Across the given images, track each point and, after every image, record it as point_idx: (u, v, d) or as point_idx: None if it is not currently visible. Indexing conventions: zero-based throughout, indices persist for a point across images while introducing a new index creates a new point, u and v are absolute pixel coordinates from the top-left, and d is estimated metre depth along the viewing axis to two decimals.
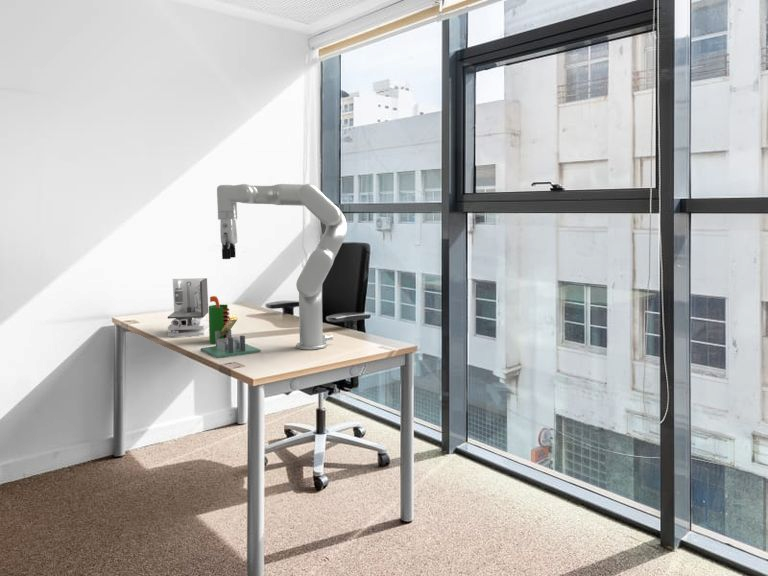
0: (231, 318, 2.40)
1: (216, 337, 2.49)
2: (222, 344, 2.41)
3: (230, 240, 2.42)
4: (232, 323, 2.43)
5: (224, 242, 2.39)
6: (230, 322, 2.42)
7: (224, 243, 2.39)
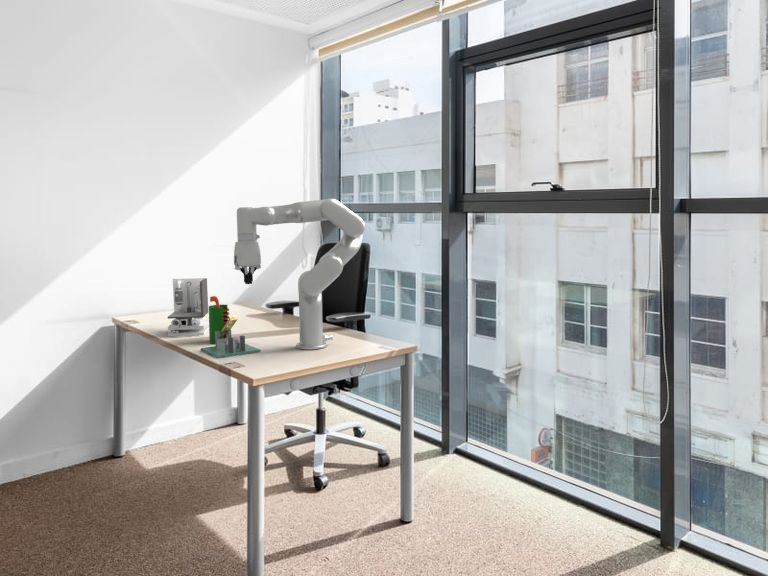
0: (231, 318, 2.40)
1: (216, 337, 2.49)
2: (222, 344, 2.41)
3: None
4: (232, 323, 2.43)
5: None
6: (230, 322, 2.42)
7: None
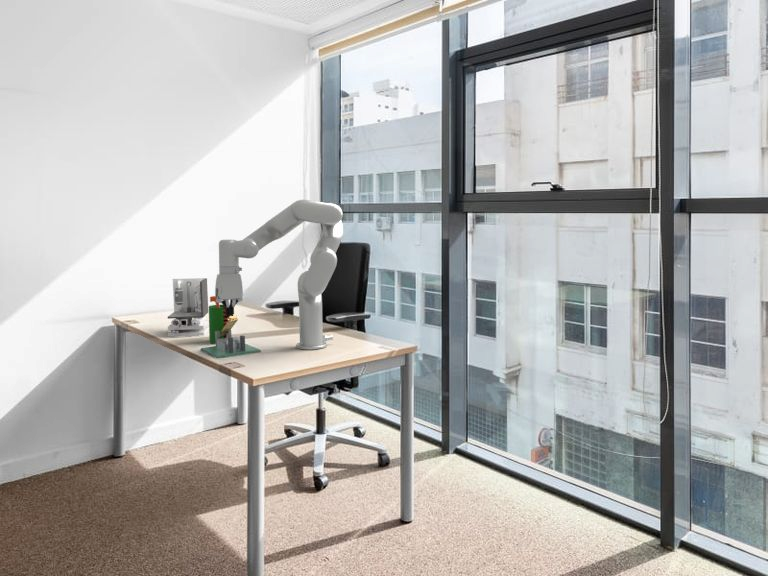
0: (231, 319, 2.40)
1: (216, 337, 2.49)
2: (222, 344, 2.41)
3: None
4: (232, 324, 2.43)
5: None
6: (230, 323, 2.42)
7: None
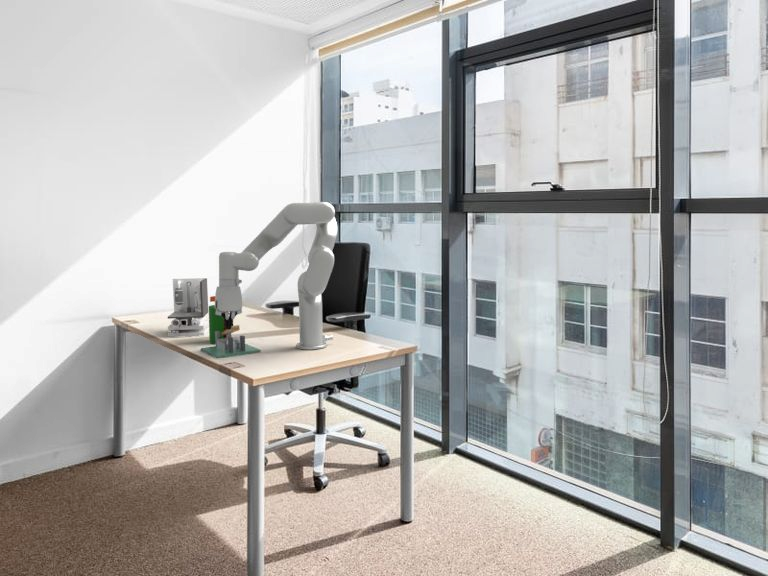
0: (233, 329, 2.39)
1: (216, 337, 2.49)
2: (222, 344, 2.41)
3: None
4: (234, 331, 2.42)
5: None
6: (232, 331, 2.41)
7: None
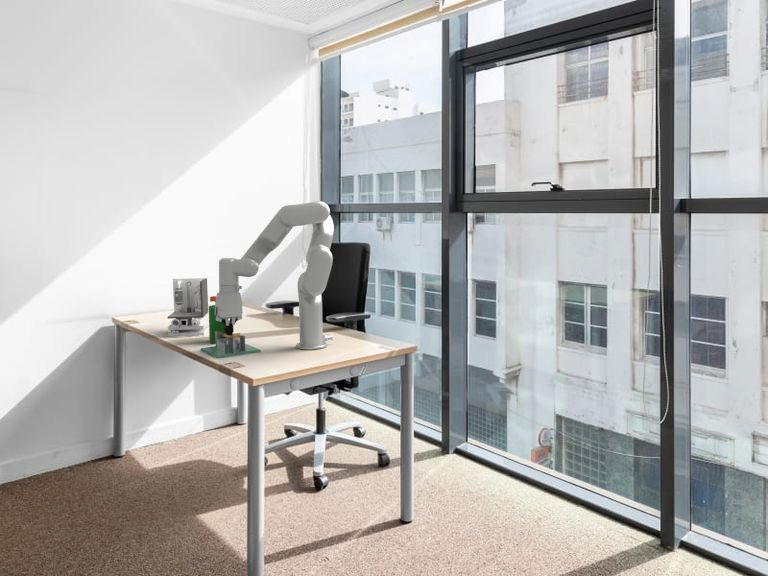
0: (234, 337, 2.39)
1: (216, 337, 2.49)
2: (222, 344, 2.41)
3: None
4: None
5: None
6: None
7: None
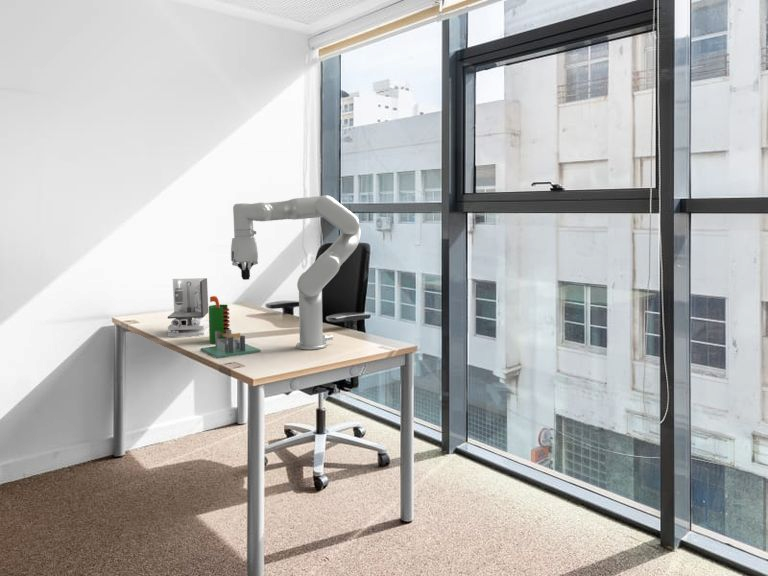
0: (234, 337, 2.39)
1: (216, 337, 2.49)
2: (222, 344, 2.41)
3: None
4: None
5: None
6: None
7: None
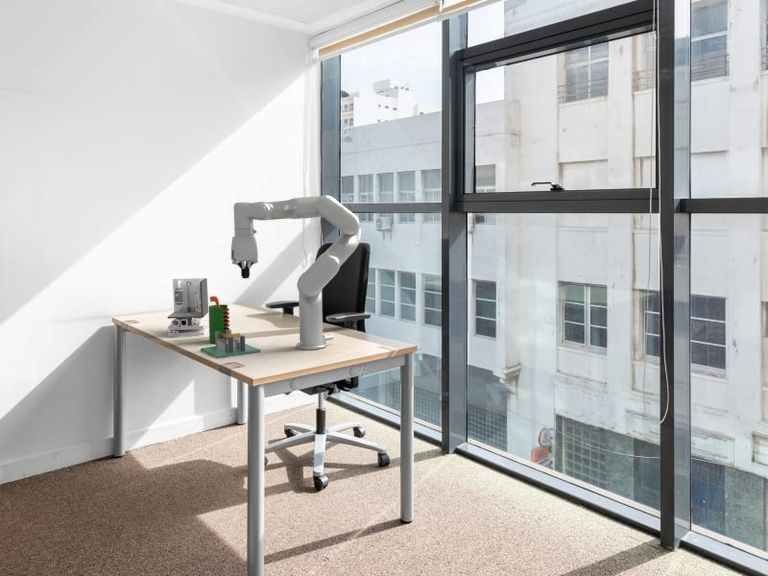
0: (234, 337, 2.39)
1: (216, 337, 2.49)
2: (222, 344, 2.41)
3: None
4: None
5: None
6: None
7: None
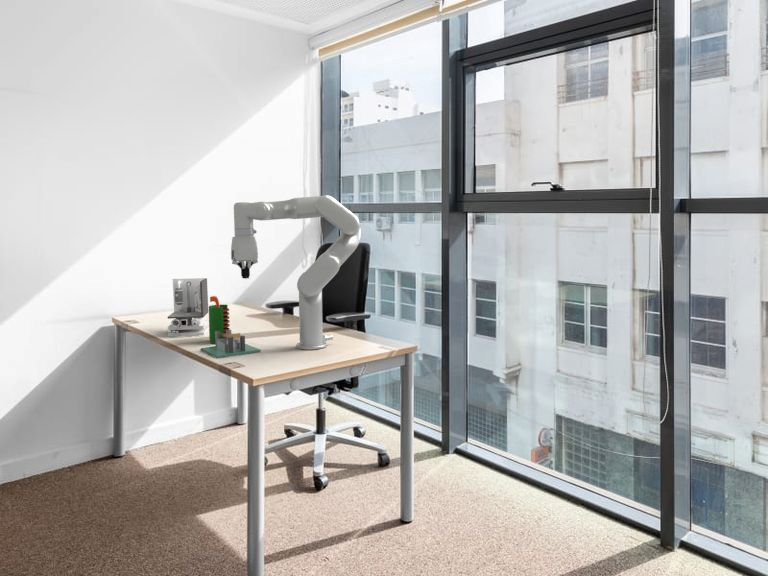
0: (234, 337, 2.39)
1: (216, 337, 2.49)
2: (222, 344, 2.41)
3: None
4: None
5: None
6: None
7: None
